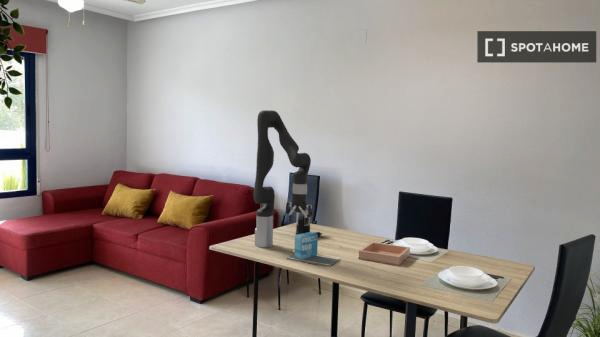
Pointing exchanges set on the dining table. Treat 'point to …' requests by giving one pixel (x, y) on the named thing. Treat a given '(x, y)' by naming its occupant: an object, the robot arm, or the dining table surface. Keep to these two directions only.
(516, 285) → the dining table surface
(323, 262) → the mat
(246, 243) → the dining table surface
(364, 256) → the planter saucer
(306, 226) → the milk frother
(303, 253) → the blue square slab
